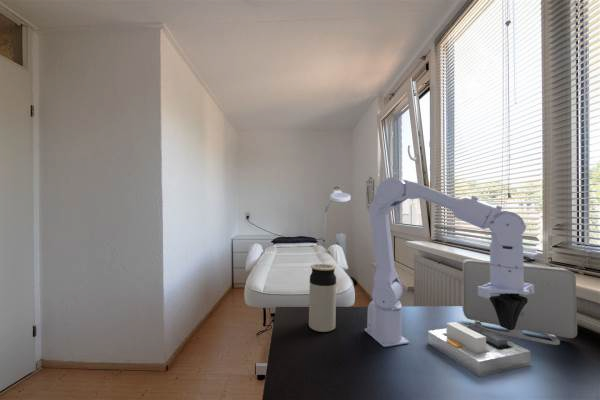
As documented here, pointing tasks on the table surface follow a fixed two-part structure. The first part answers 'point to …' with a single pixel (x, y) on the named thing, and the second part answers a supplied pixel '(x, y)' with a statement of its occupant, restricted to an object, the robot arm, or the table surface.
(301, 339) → the table surface
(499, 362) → the rack
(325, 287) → the travel mug
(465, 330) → the rectangular block
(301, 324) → the table surface
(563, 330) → the network device
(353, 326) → the table surface
